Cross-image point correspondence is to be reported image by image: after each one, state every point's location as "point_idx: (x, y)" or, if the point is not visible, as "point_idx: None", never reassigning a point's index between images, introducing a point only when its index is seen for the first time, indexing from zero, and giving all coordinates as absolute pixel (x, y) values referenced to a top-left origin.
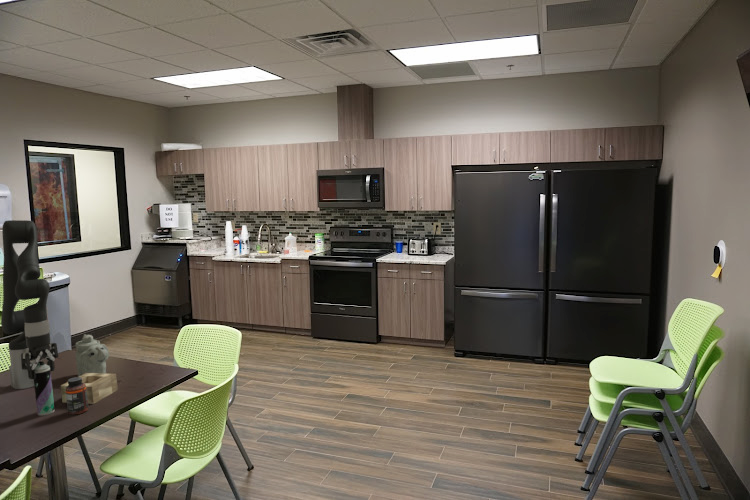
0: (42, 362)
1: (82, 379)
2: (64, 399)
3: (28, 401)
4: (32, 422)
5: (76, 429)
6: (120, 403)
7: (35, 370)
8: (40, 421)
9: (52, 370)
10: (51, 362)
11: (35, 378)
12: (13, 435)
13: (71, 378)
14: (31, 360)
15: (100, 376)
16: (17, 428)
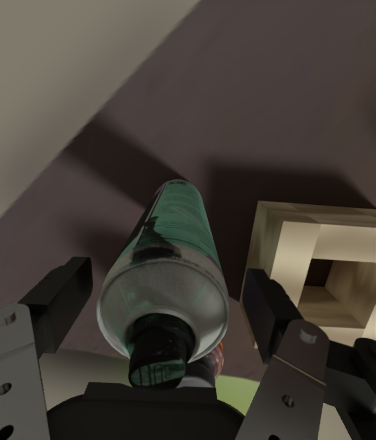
0: (152, 386)
1: (358, 258)
2: (259, 213)
3: (283, 39)
4: (105, 213)
5: (88, 348)
6: (238, 361)
7: (99, 309)
8: (115, 232)
9: (243, 300)
10: (262, 354)
11: (87, 292)
12: (21, 221)
13: (195, 381)
14: (27, 391)
15: (369, 316)
16: (61, 197)
